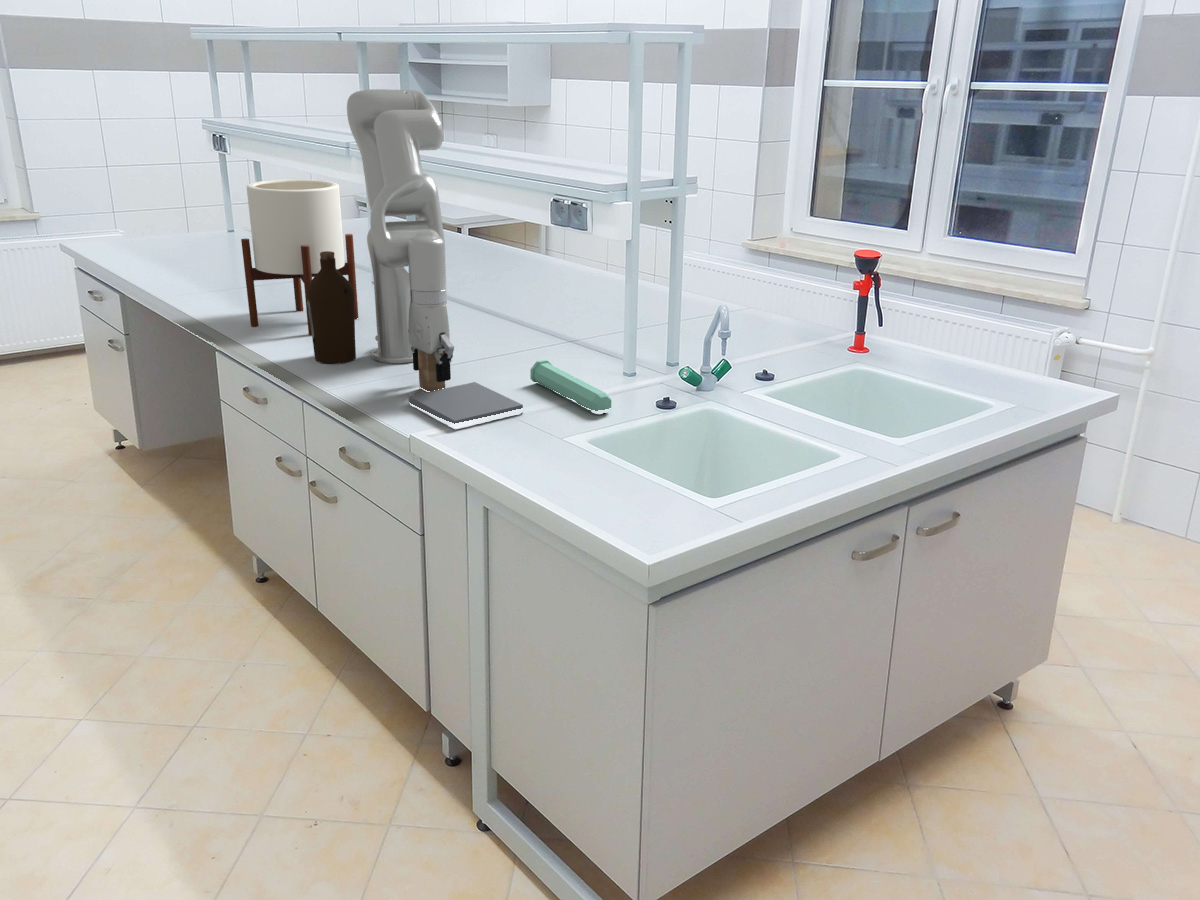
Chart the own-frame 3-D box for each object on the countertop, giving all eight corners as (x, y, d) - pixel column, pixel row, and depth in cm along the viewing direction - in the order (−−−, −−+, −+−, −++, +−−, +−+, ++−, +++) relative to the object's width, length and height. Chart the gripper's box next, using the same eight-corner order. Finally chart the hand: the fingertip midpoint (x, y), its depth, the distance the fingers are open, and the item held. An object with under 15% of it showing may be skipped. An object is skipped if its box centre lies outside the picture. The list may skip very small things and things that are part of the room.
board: (409, 405, 202) (408, 395, 201) (474, 390, 211) (474, 382, 210) (454, 430, 189) (454, 420, 188) (522, 414, 198) (522, 404, 198)
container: (612, 387, 197) (547, 354, 216) (589, 402, 195) (526, 367, 214) (620, 410, 200) (555, 376, 219) (598, 425, 198) (534, 389, 217)
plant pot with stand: (365, 317, 266) (356, 182, 253) (314, 337, 247) (301, 192, 233) (298, 308, 274) (285, 177, 260) (243, 327, 254) (226, 186, 241)
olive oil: (363, 352, 235) (356, 248, 226) (352, 365, 226) (344, 257, 216) (319, 351, 235) (310, 247, 226) (306, 364, 226) (296, 256, 216)
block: (419, 388, 211) (417, 344, 208) (435, 385, 214) (433, 341, 210) (429, 393, 209) (427, 348, 205) (445, 390, 211) (443, 345, 207)
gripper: (392, 291, 207) (396, 368, 214) (434, 307, 195) (437, 388, 202) (423, 286, 212) (426, 362, 218) (466, 302, 200) (468, 382, 206)
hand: (431, 374), depth 210 cm, fingers open, 9 cm apart
